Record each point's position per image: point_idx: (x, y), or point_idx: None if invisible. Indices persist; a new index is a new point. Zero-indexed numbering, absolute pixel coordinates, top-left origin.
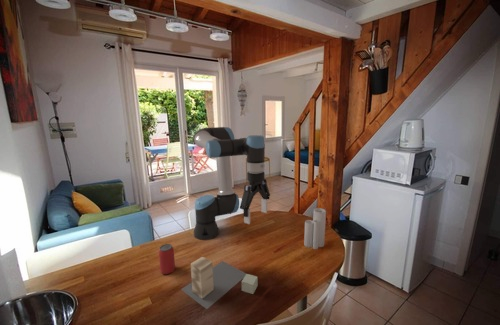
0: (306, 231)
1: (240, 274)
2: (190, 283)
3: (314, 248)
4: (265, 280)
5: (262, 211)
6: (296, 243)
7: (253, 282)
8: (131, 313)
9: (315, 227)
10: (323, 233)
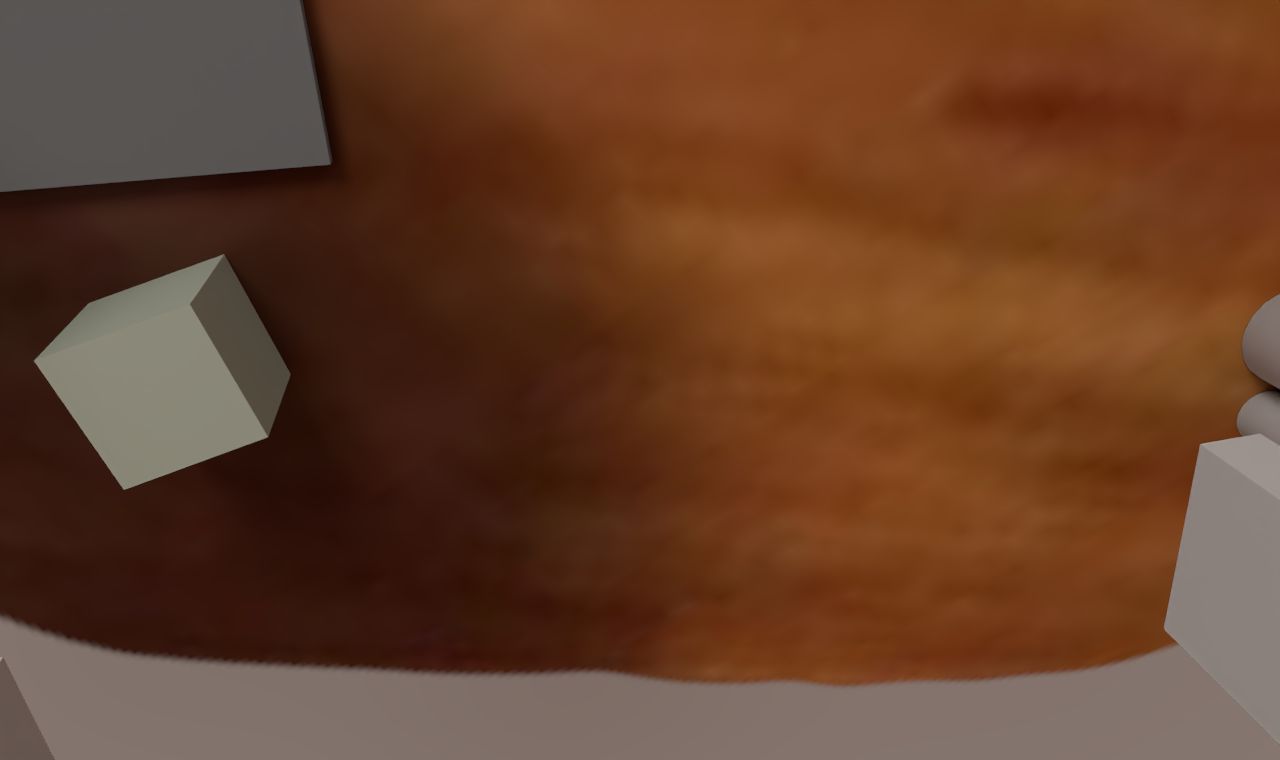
0: None
1: (251, 93)
2: None
3: (1240, 423)
4: (434, 367)
5: (1210, 504)
6: (1271, 209)
7: (156, 468)
8: None
9: None
10: None
